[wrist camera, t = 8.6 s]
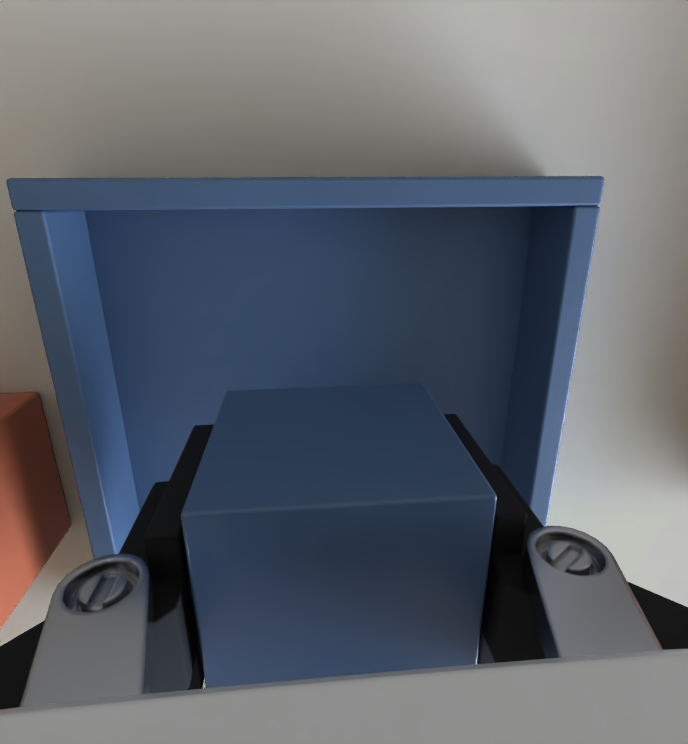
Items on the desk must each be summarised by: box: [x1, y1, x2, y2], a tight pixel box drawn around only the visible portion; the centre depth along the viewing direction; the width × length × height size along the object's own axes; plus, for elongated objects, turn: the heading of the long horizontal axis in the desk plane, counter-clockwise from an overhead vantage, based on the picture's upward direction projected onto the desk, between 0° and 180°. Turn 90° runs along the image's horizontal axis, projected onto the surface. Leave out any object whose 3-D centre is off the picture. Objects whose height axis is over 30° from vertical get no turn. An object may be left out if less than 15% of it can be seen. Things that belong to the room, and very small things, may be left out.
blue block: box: [181, 383, 497, 688], centre depth 10 cm, size 4×4×4 cm
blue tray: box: [7, 176, 604, 559], centre depth 13 cm, size 13×12×2 cm
